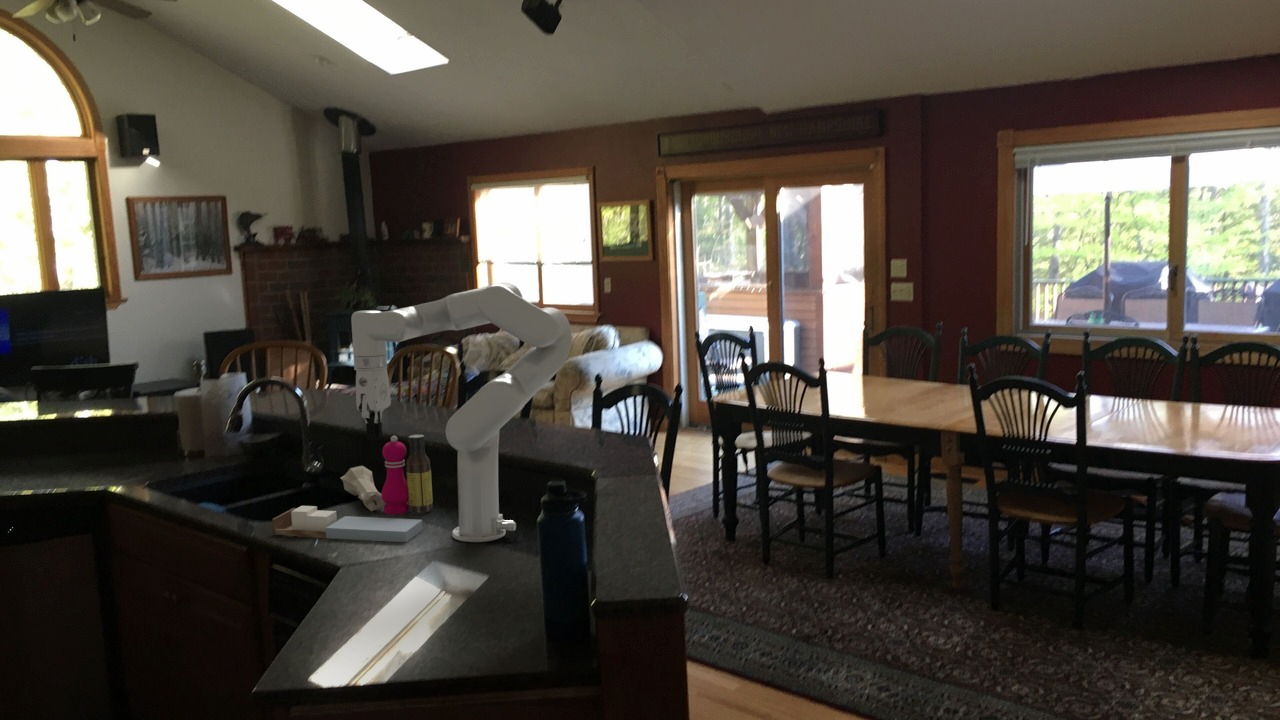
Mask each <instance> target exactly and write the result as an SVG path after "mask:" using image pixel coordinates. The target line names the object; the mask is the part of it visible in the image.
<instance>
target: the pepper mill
mask: <svg viewBox="0 0 1280 720" xmlns="http://www.w3.org/2000/svg"><path fill="white" fill-rule="evenodd" d="M381 453H382V456H383V458H384V459H385V461H384V466H385V468H386V480H385V481H384V484H383V487H382V491H381V494H382V500H383V501H384V504H383V513H384V514H386V515H392V516H394V515H395V516H396V515H402V514H405V513H408V512H410V511H409V504H408V488H407V479H406V477H405V474H404V467H405V466H406V464H405V459H404V458H405V457H406V455H407V447H406V445H405V444H404V443H402V442H401V441H398V437H397V436H396V435H392V436H391V437H390V442H386V443H385V445H384V446H383V447H382V452H381Z"/></svg>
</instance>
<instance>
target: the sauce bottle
mask: <svg viewBox="0 0 1280 720" xmlns="http://www.w3.org/2000/svg"><path fill="white" fill-rule="evenodd" d="M408 443H409V456H408V457H407V460H406V464H405V466H406V483H407V488H408V501H407V503H408V504H409V511H408V512H410V513H413V514H425V513H428V512H431V511H432V510H433V502H434V501H433V486H432V485H433V484H432V469H431V461H430V459H429V457H428V456H427V454H426V449H425V435H424V434H413V435H409V436H408Z"/></svg>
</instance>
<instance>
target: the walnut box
mask: <svg viewBox="0 0 1280 720" xmlns="http://www.w3.org/2000/svg"><path fill="white" fill-rule="evenodd" d="M295 509H296V507H293V508H290V509H289V510H287V511H285V512H283V513H281V514H279V515H278V516H276V517H274V518H272V520H271V521H272V525H271V526H272V535H273V534H283V535H288V536H287V537H293V536H298V537H297V538H312V539H313V538H315V539H316V538H318V539H327V538H326V531H311V530H292V515H291V511H293V510H295ZM338 520H339V519H337V521H338Z"/></svg>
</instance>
